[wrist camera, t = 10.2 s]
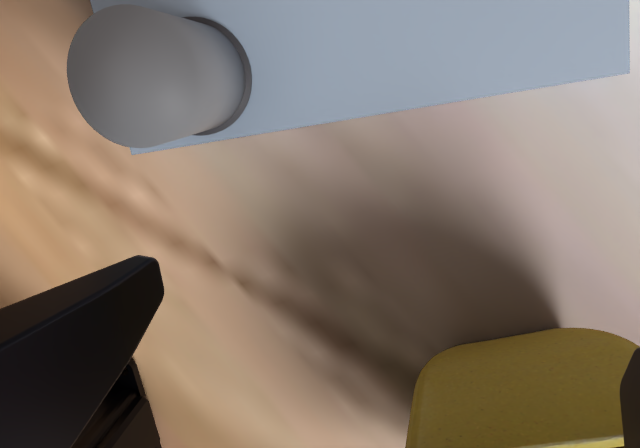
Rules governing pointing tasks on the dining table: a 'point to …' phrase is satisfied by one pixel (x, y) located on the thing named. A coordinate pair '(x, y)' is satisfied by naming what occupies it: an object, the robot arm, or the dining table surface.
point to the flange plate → (321, 60)
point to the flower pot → (523, 392)
